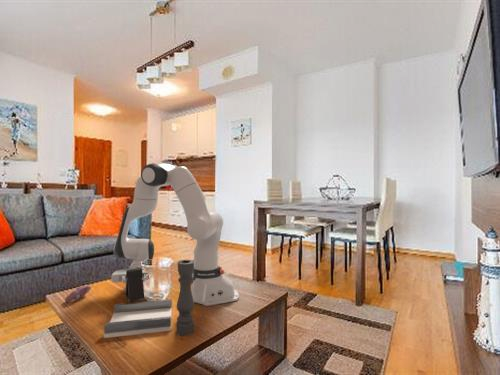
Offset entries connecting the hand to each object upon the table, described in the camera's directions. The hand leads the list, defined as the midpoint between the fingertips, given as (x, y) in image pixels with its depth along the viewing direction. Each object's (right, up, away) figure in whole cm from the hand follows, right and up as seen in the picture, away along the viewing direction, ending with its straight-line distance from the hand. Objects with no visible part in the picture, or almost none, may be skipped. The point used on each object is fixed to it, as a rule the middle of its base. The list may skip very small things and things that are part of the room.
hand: (134, 280), depth 122 cm
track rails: (+8, -11, -13) cm, 19 cm away
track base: (+8, -11, -13) cm, 19 cm away
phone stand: (0, -7, +1) cm, 8 cm away
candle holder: (+26, -12, -20) cm, 35 cm away
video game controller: (-28, -10, +6) cm, 30 cm away
